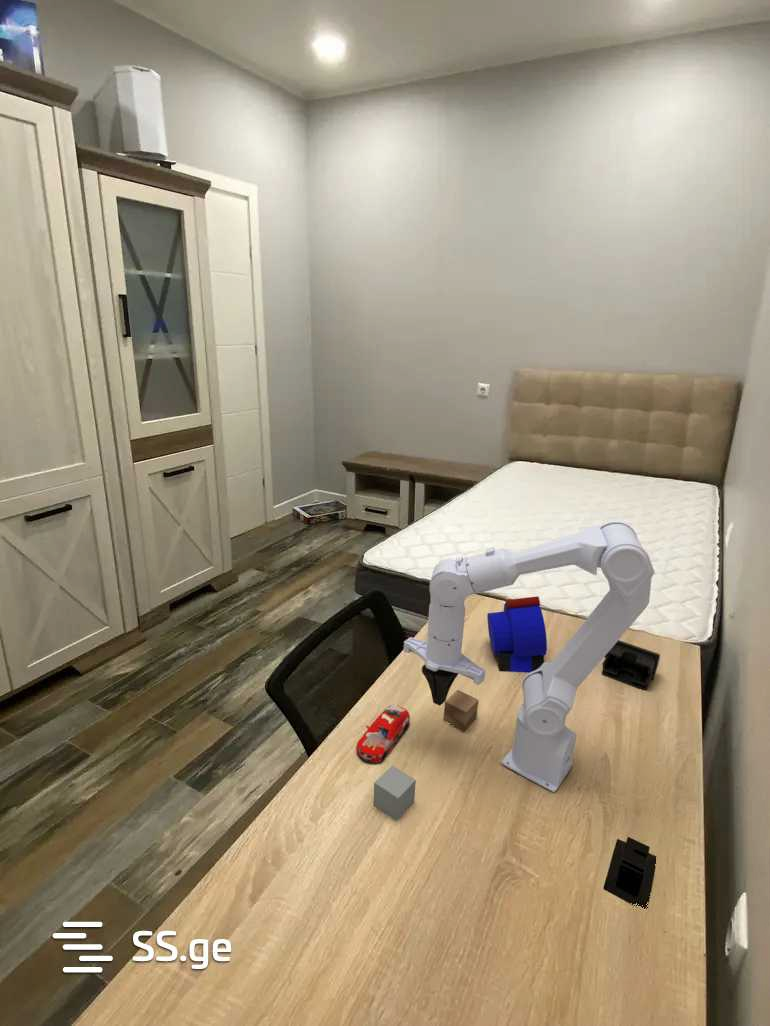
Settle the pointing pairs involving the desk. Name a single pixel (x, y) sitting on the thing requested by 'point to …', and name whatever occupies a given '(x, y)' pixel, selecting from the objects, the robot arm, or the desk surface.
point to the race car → (383, 734)
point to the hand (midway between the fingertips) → (439, 701)
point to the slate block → (394, 792)
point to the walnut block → (460, 710)
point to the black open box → (631, 872)
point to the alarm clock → (518, 635)
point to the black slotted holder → (630, 665)
